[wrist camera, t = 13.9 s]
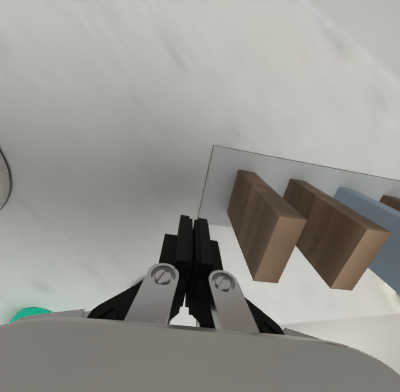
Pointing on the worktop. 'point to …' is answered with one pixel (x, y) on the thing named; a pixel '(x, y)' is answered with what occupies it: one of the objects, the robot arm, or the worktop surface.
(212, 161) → the mat
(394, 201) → the tile
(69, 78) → the worktop surface
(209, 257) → the robot arm
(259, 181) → the tile
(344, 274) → the tile
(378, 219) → the slate tile
